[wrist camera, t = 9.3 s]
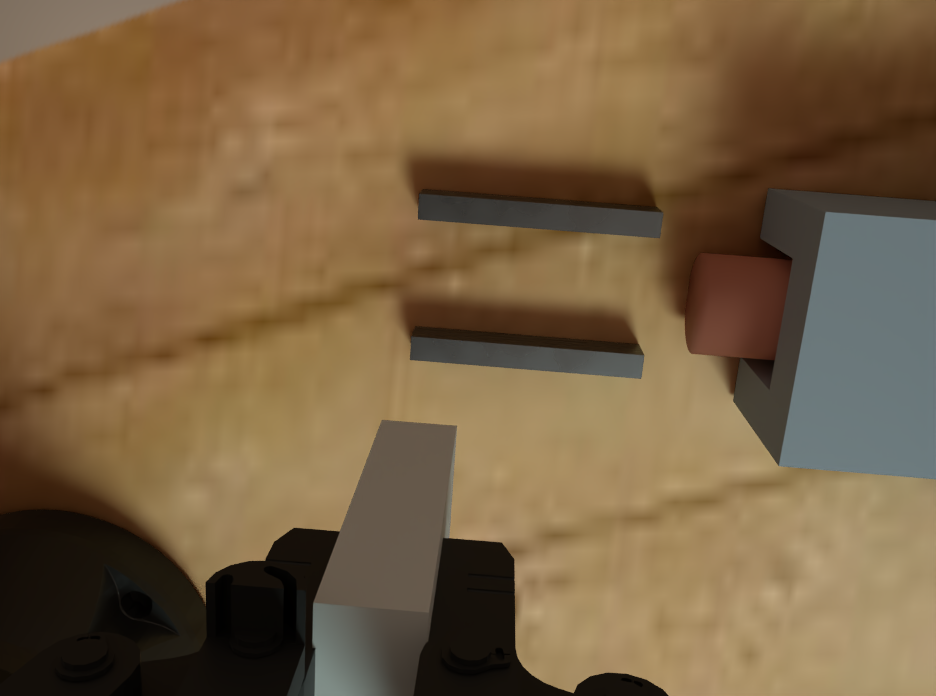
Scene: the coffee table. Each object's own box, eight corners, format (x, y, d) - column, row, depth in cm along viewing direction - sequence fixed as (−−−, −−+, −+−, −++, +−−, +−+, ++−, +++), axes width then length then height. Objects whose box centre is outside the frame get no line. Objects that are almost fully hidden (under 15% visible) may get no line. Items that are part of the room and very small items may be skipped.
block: (733, 400, 38) (778, 466, 32) (768, 188, 36) (825, 211, 29) (946, 418, 38) (1036, 487, 32) (996, 205, 36) (1105, 233, 29)
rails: (414, 348, 38) (410, 359, 37) (423, 189, 37) (418, 193, 35) (635, 366, 38) (641, 378, 37) (656, 207, 36) (663, 212, 35)
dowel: (680, 341, 38) (700, 364, 34) (692, 247, 37) (714, 260, 33) (919, 360, 38) (966, 386, 34) (937, 265, 37) (988, 281, 33)
